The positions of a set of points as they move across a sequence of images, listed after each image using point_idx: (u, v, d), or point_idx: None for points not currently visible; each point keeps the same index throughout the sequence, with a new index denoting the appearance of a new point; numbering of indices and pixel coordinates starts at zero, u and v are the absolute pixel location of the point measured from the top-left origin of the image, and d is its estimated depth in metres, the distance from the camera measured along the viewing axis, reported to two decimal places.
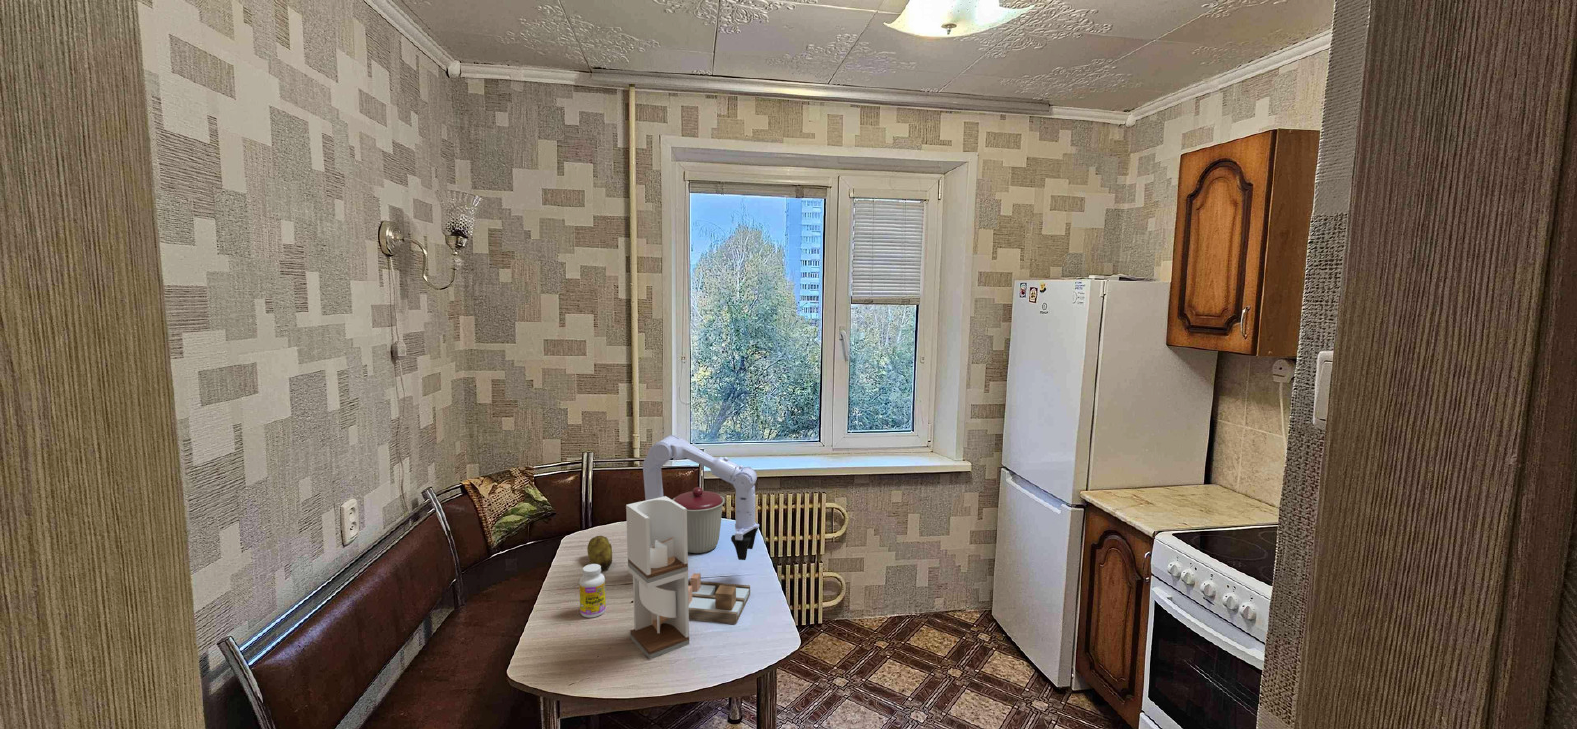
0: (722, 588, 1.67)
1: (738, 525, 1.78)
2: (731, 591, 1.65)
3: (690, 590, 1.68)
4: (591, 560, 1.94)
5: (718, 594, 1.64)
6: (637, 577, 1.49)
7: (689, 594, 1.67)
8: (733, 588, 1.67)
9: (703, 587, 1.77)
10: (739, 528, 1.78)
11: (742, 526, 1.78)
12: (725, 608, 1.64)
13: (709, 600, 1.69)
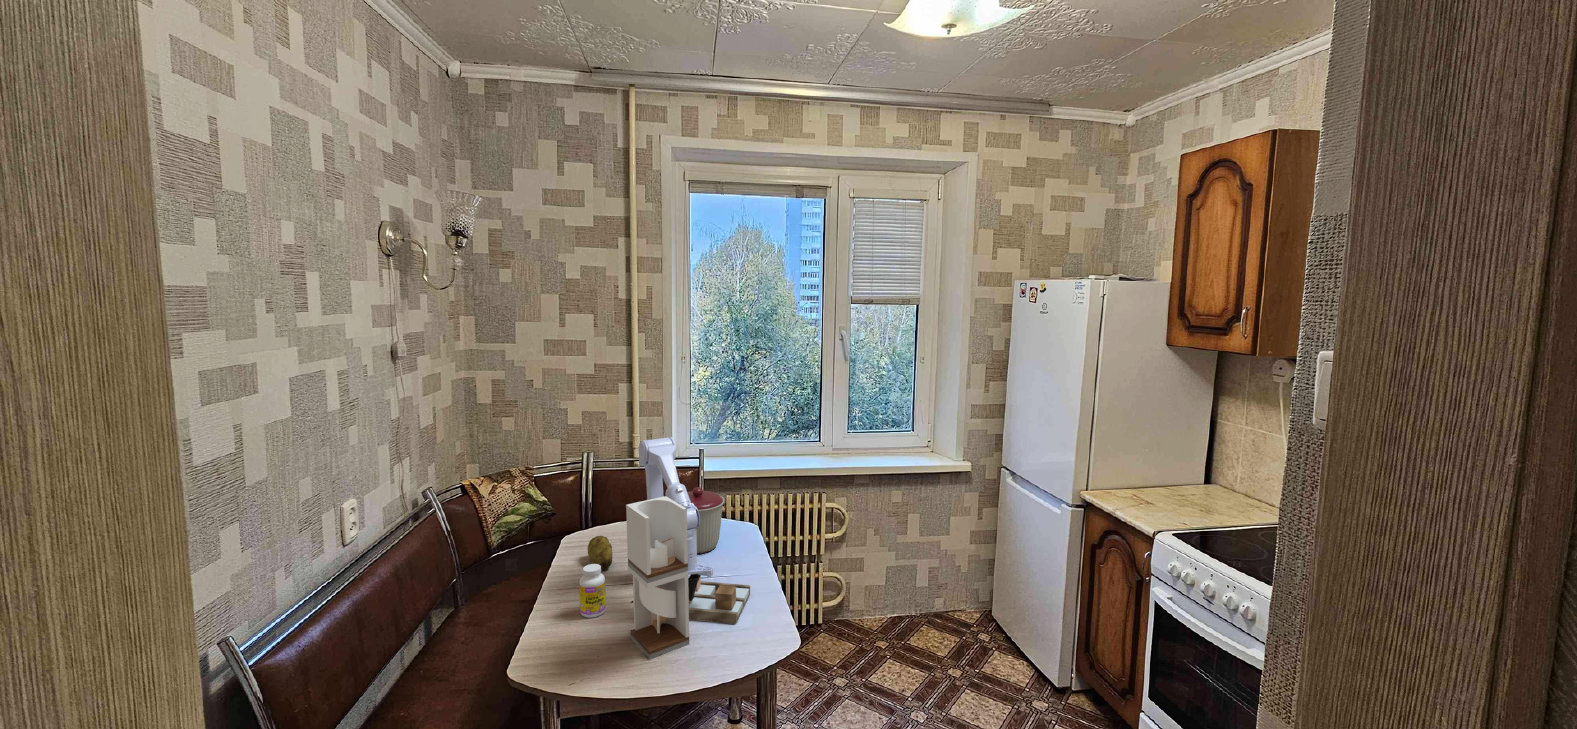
0: (722, 588, 1.67)
1: None
2: (731, 591, 1.65)
3: None
4: (591, 560, 1.94)
5: (718, 594, 1.64)
6: (637, 577, 1.49)
7: None
8: (733, 588, 1.67)
9: (703, 587, 1.77)
10: None
11: None
12: (725, 608, 1.64)
13: (709, 600, 1.69)
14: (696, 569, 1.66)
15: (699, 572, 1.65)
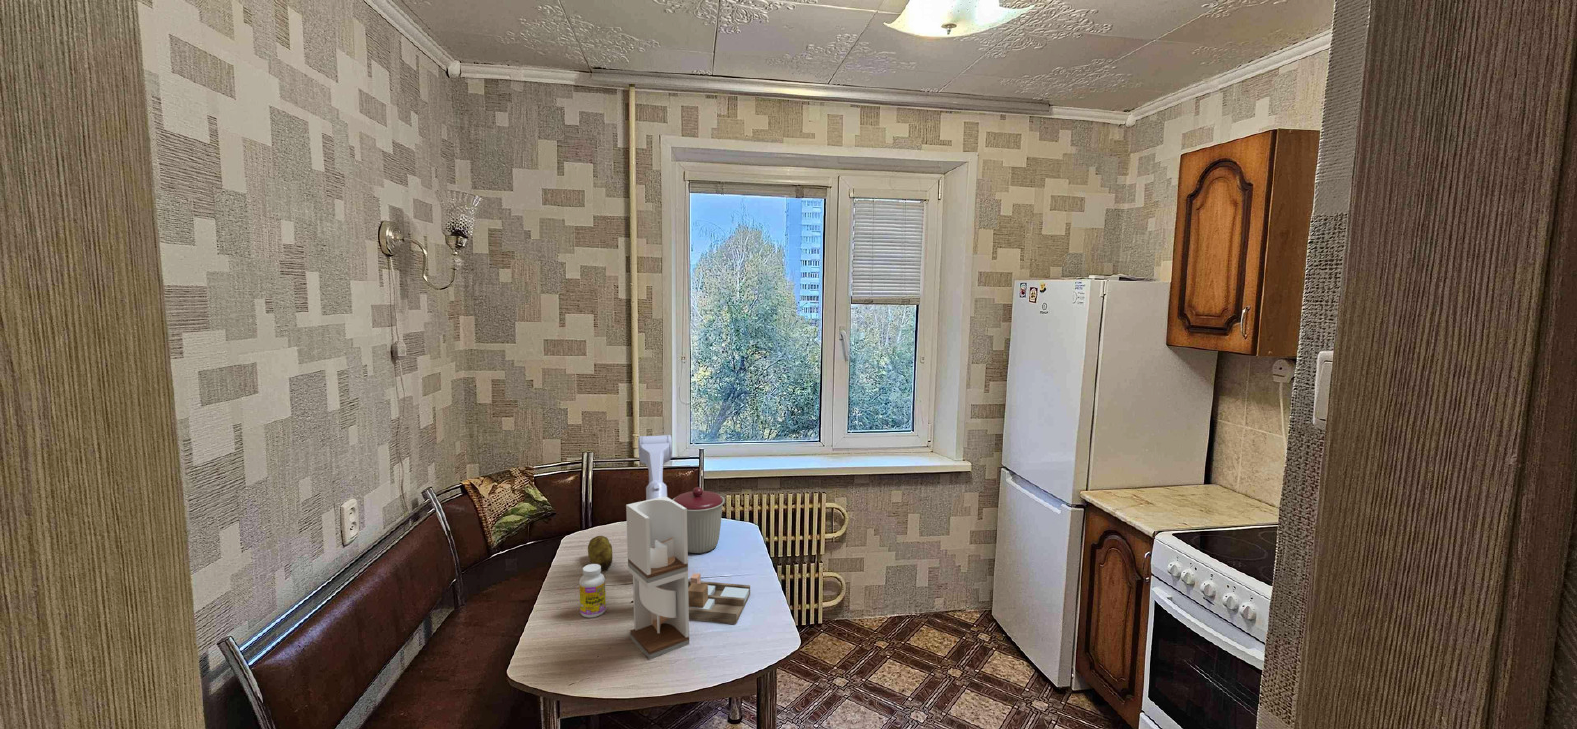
0: (694, 586, 1.68)
1: None
2: (702, 589, 1.66)
3: None
4: (591, 560, 1.94)
5: (689, 591, 1.66)
6: (637, 577, 1.49)
7: None
8: (705, 586, 1.68)
9: None
10: None
11: None
12: (696, 605, 1.66)
13: None
14: None
15: None
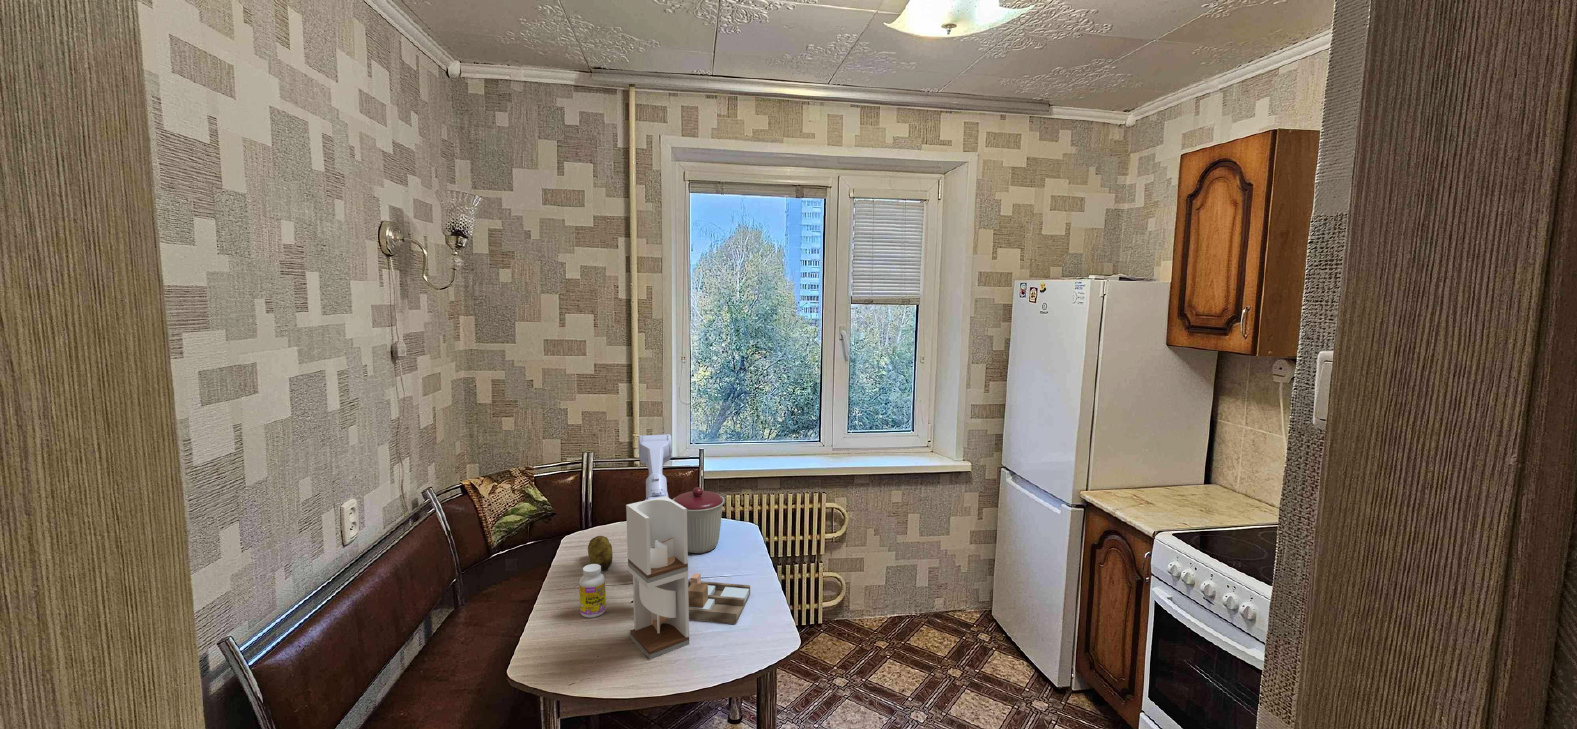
0: (694, 586, 1.68)
1: None
2: (702, 589, 1.66)
3: None
4: (591, 560, 1.94)
5: (689, 591, 1.66)
6: (637, 577, 1.49)
7: None
8: (705, 586, 1.68)
9: None
10: None
11: None
12: (696, 605, 1.66)
13: None
14: None
15: None
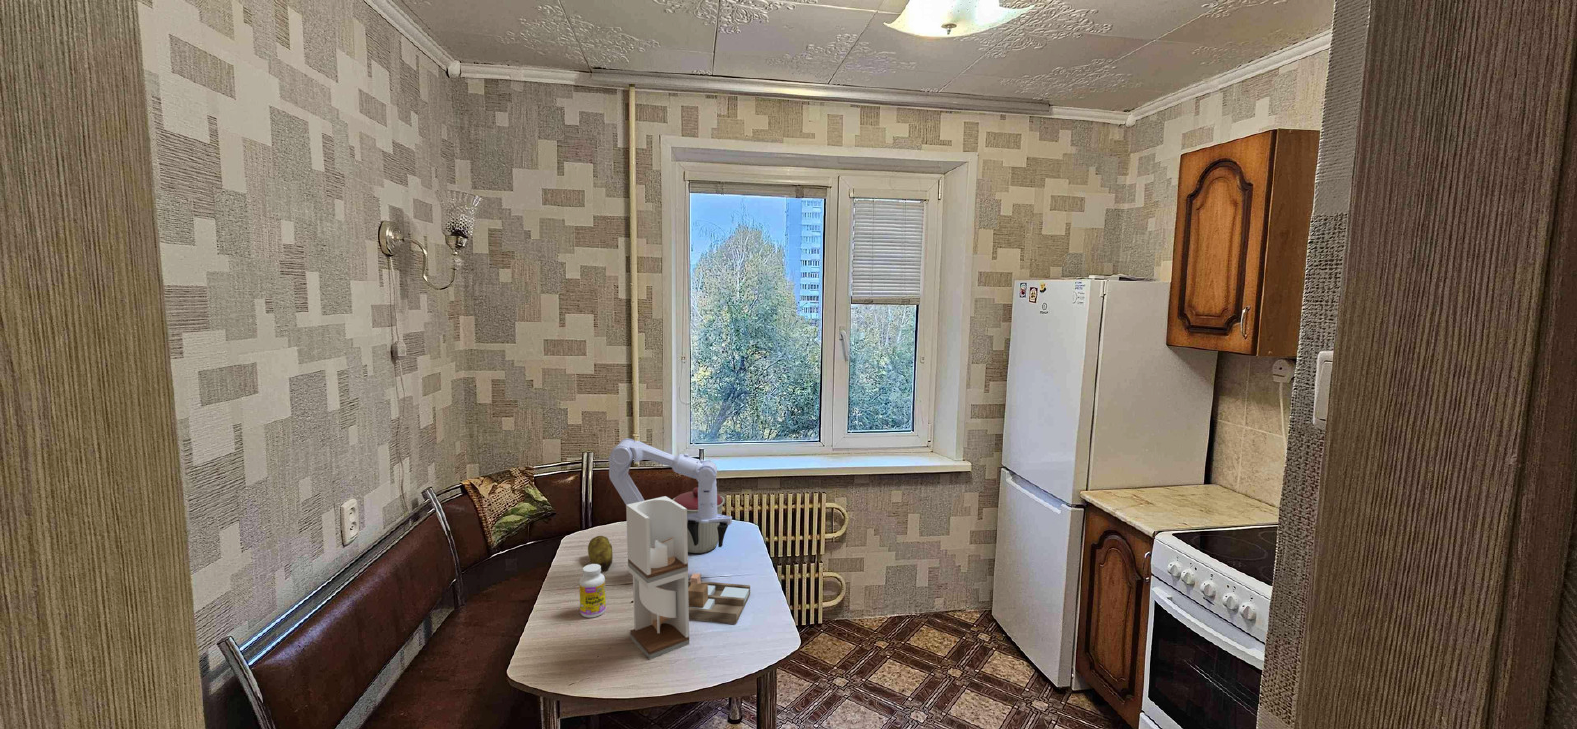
0: (694, 586, 1.68)
1: None
2: (702, 589, 1.66)
3: None
4: (591, 560, 1.94)
5: (689, 591, 1.66)
6: (637, 577, 1.49)
7: None
8: (705, 586, 1.68)
9: None
10: None
11: None
12: (696, 605, 1.66)
13: None
14: (717, 518, 1.85)
15: (719, 520, 1.83)
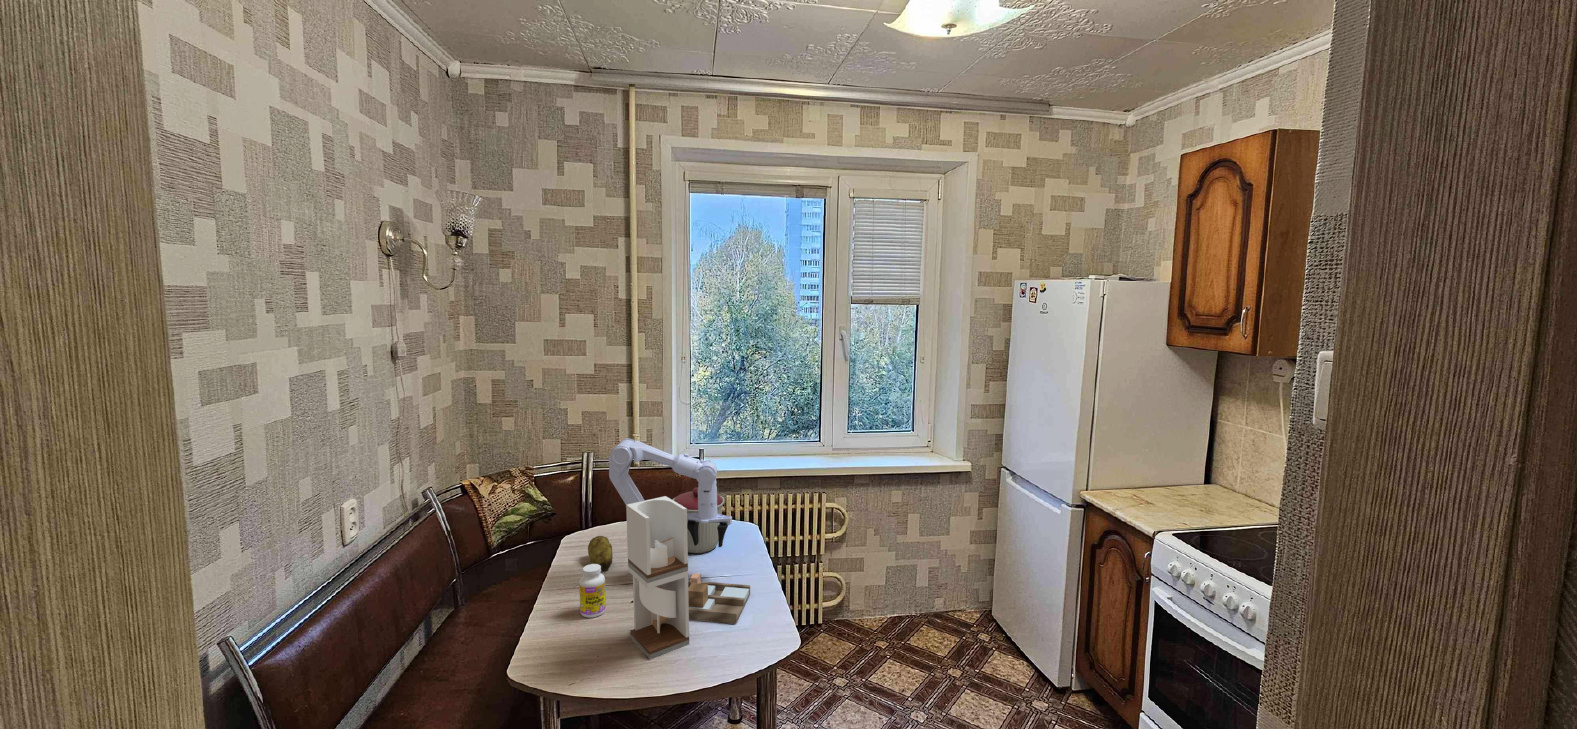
0: (694, 586, 1.68)
1: None
2: (702, 589, 1.66)
3: None
4: (591, 560, 1.94)
5: (689, 591, 1.66)
6: (637, 577, 1.49)
7: None
8: (705, 586, 1.68)
9: None
10: None
11: None
12: (696, 605, 1.66)
13: None
14: (717, 518, 1.85)
15: (719, 520, 1.83)
